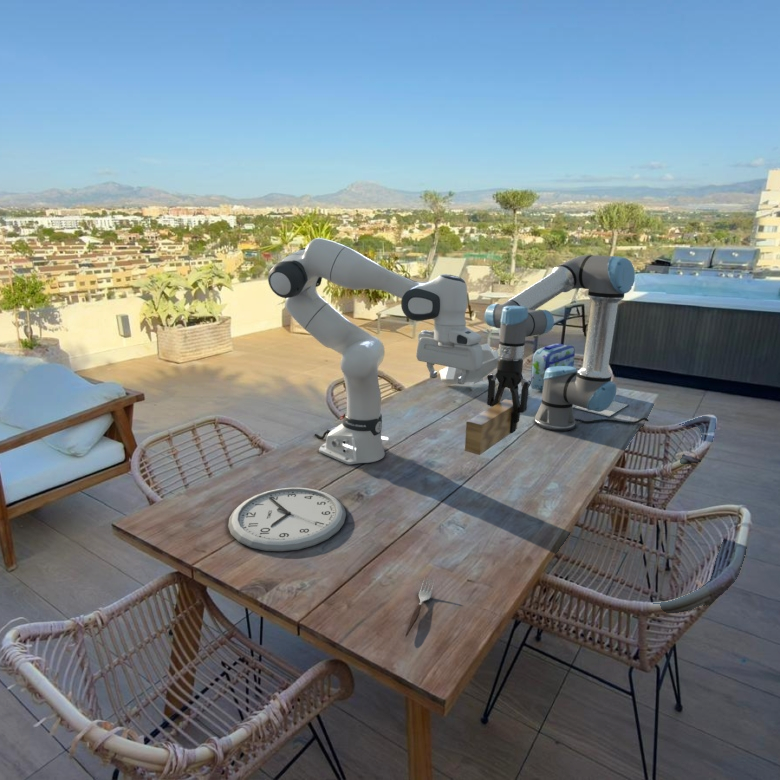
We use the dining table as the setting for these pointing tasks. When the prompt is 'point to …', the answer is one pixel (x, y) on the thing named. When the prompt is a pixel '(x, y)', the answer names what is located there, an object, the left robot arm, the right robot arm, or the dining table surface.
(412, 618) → the fork
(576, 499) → the dining table surface
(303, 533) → the wall clock
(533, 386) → the lunch box
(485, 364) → the white plastic object
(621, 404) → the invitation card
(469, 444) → the bar
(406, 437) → the dining table surface
